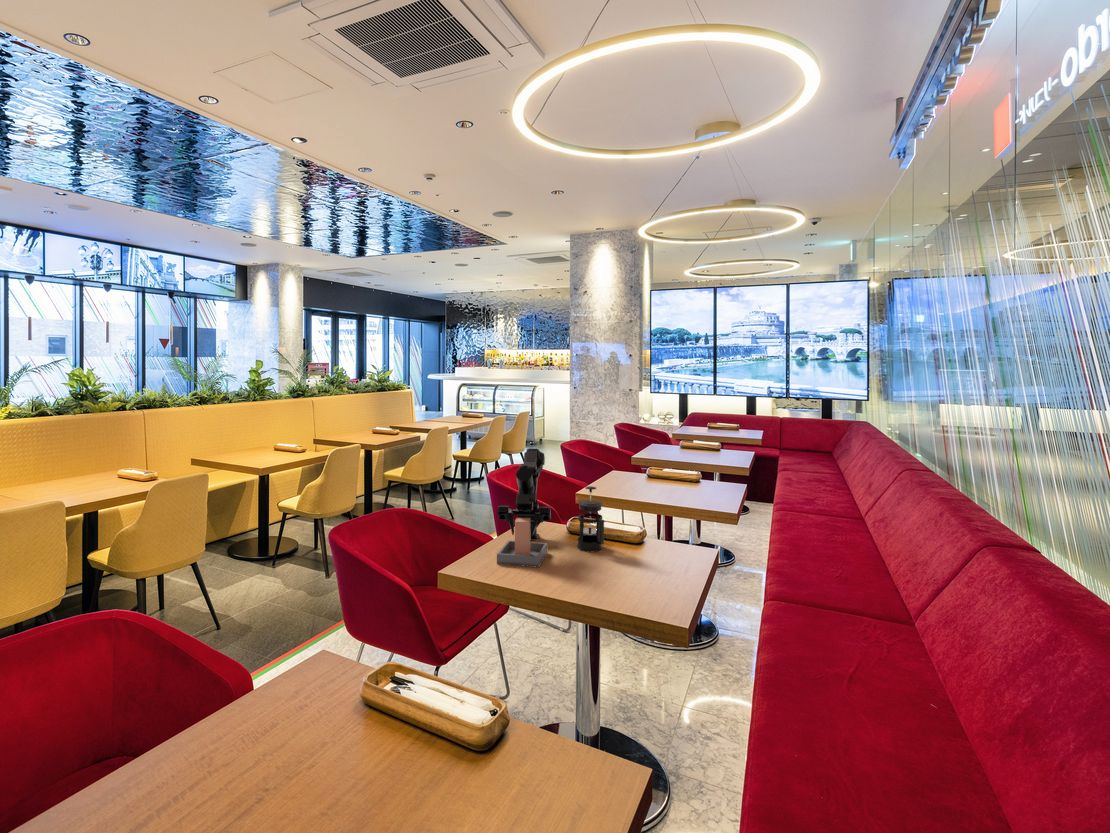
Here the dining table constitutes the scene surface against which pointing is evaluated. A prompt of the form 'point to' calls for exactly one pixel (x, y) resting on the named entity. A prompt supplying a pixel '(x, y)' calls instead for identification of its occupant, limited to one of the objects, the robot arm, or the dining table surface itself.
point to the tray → (534, 559)
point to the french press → (587, 535)
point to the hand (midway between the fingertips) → (522, 534)
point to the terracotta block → (523, 536)
